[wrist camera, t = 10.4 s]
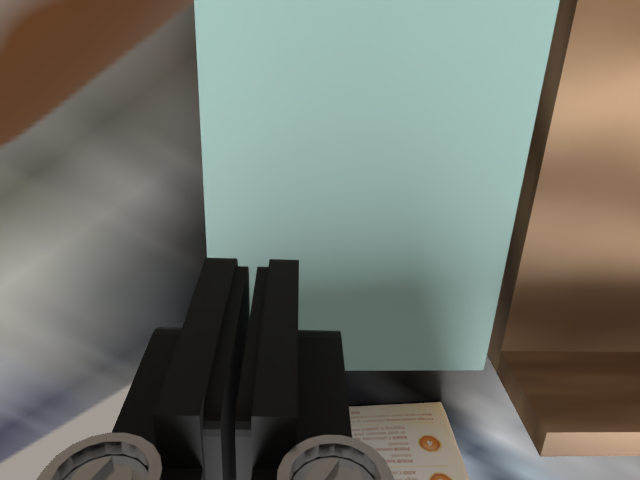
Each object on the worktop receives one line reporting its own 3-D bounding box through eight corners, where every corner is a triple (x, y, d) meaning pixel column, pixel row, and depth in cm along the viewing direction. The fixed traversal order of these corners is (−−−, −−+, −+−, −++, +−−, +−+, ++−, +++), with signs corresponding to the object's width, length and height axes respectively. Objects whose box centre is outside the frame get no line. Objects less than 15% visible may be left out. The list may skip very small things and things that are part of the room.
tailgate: (557, -117, 19) (196, -139, 18) (586, -128, 17) (186, -152, 16) (470, 343, 27) (217, 343, 26) (483, 370, 25) (212, 371, 24)
